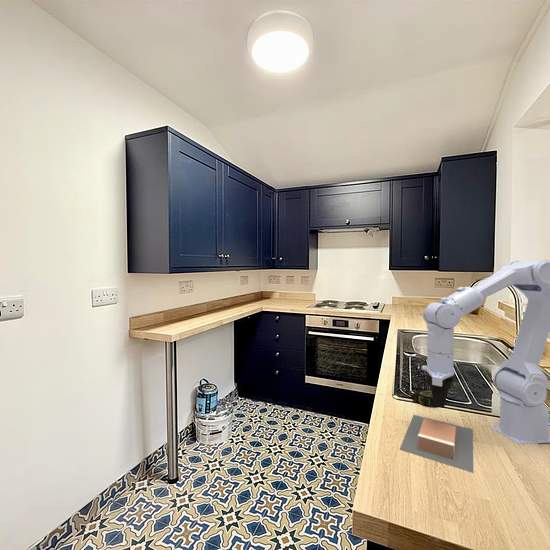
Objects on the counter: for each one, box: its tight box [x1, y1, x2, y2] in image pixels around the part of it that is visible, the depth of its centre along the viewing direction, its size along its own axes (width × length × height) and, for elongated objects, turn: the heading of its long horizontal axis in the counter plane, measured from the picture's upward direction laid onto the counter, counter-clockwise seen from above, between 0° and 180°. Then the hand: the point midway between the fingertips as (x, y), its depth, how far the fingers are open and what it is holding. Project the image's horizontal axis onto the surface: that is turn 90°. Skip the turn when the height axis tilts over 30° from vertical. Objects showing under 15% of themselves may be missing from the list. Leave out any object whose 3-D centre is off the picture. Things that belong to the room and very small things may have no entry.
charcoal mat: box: [399, 414, 474, 474], centre depth 72 cm, size 20×14×1 cm
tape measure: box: [410, 389, 437, 408], centre depth 92 cm, size 7×7×4 cm
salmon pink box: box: [418, 419, 456, 460], centre depth 70 cm, size 3×7×10 cm
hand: (439, 405), depth 74 cm, fingers closed
